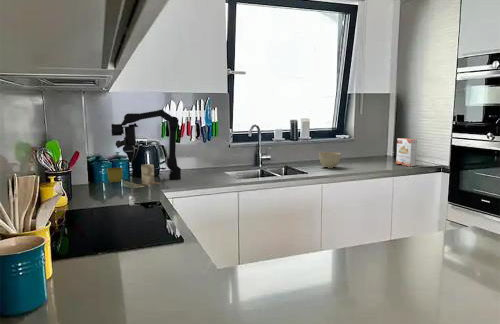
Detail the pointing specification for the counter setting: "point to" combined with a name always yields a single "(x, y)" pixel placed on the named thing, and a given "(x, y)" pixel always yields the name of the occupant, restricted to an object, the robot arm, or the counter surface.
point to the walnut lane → (133, 185)
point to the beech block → (147, 174)
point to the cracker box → (406, 151)
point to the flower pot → (114, 174)
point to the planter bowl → (329, 159)
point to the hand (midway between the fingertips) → (132, 161)
